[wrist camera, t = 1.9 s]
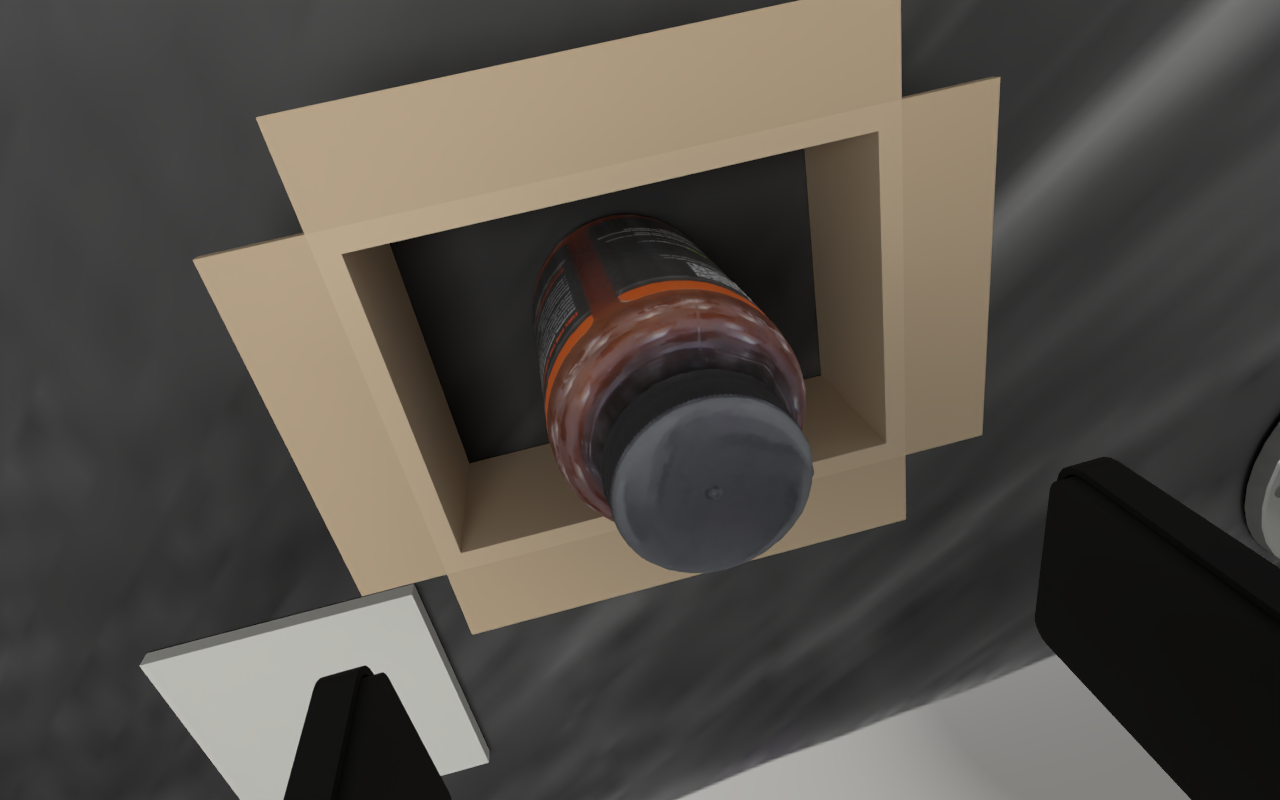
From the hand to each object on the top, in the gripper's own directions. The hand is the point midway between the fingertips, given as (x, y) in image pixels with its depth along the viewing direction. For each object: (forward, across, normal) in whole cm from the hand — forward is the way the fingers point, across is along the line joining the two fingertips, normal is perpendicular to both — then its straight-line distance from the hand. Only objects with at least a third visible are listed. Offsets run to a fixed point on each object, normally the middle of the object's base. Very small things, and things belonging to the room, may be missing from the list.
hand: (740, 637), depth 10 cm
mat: (+15, +14, +14) cm, 25 cm away
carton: (+15, -1, 0) cm, 15 cm away
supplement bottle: (+15, -1, 0) cm, 15 cm away
